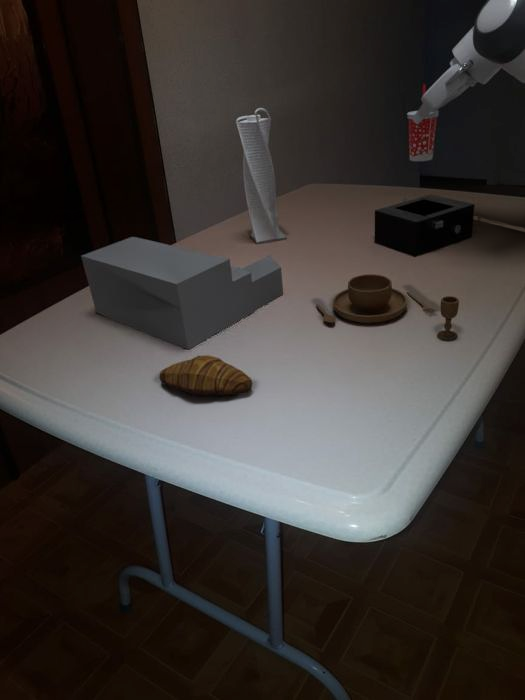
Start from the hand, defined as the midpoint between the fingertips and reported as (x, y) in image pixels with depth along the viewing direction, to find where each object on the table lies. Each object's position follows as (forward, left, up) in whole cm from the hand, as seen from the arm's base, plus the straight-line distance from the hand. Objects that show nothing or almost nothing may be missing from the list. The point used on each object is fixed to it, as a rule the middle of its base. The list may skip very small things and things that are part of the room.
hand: (419, 118), depth 111 cm
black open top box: (+3, +5, -23) cm, 24 cm away
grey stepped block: (+55, 0, -24) cm, 60 cm away
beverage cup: (0, +1, -8) cm, 8 cm away
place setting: (+34, +27, -24) cm, 50 cm away
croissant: (+65, +27, -24) cm, 74 cm away
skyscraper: (+26, -21, -24) cm, 41 cm away
